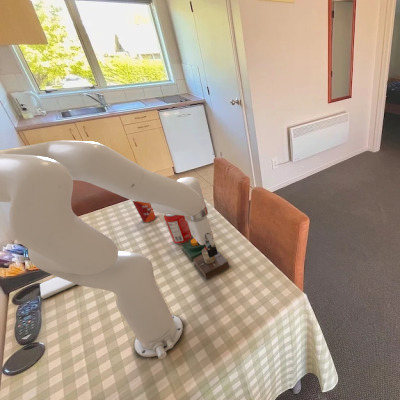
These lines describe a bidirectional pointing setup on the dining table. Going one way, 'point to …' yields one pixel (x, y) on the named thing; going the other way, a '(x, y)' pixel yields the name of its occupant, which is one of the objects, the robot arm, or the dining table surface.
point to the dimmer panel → (211, 265)
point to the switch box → (193, 250)
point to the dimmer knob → (206, 257)
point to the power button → (194, 242)
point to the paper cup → (144, 210)
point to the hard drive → (54, 286)
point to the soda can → (178, 228)
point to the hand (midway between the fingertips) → (207, 249)
